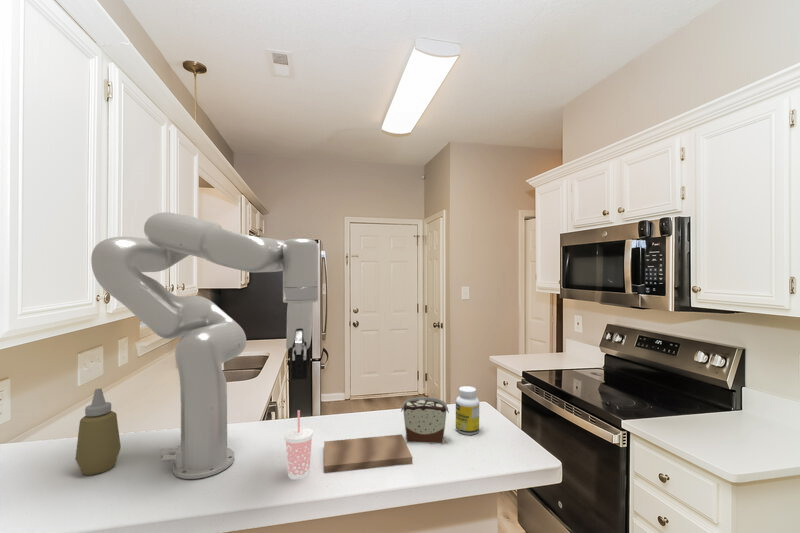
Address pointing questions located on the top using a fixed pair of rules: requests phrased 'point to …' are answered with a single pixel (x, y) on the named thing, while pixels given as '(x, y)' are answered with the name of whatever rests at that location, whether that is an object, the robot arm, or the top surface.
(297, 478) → the beverage cup
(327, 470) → the walnut board
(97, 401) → the squeeze bottle
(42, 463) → the top surface
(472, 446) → the top surface
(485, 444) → the top surface
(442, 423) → the food container
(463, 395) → the pill bottle
